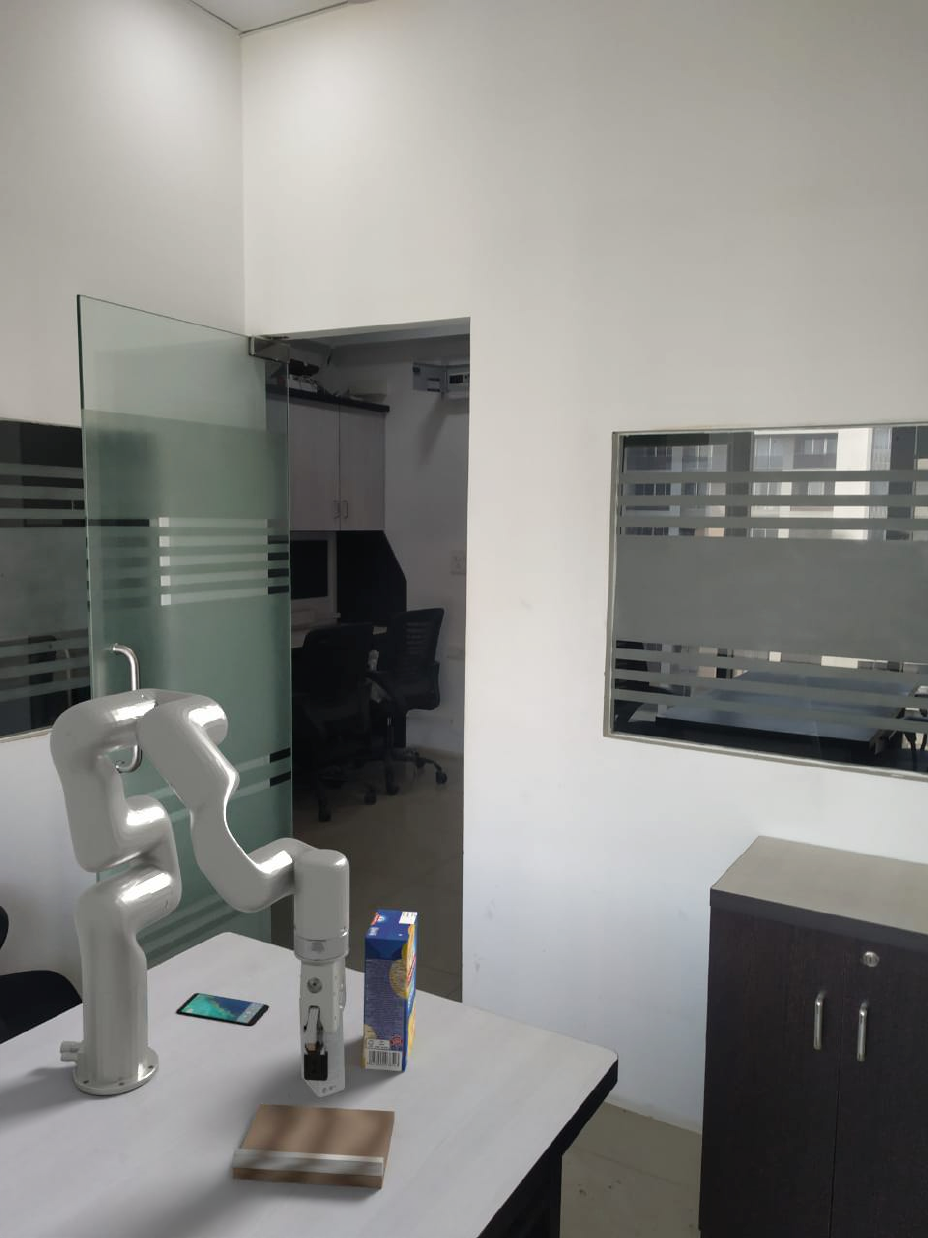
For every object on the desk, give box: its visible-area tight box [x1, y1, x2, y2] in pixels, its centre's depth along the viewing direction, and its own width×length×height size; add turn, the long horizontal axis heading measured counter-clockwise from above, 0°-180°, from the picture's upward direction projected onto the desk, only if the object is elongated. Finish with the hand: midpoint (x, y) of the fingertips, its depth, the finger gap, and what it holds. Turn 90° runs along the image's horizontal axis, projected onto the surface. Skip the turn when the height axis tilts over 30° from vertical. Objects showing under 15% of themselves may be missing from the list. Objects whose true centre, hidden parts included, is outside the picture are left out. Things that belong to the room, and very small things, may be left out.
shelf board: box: [232, 1103, 395, 1189], centre depth 134 cm, size 20×14×4 cm
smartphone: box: [176, 992, 270, 1027], centre depth 170 cm, size 7×1×15 cm
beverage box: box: [362, 909, 418, 1072], centre depth 158 cm, size 7×11×22 cm, turn 175°
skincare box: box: [298, 997, 346, 1098], centre depth 134 cm, size 6×4×12 cm
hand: (321, 1062), depth 134 cm, fingers closed on skincare box, 7 cm apart
